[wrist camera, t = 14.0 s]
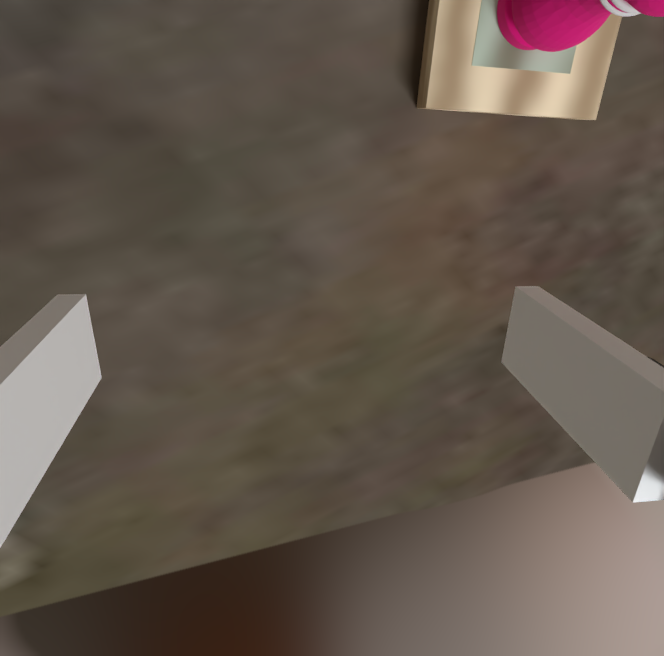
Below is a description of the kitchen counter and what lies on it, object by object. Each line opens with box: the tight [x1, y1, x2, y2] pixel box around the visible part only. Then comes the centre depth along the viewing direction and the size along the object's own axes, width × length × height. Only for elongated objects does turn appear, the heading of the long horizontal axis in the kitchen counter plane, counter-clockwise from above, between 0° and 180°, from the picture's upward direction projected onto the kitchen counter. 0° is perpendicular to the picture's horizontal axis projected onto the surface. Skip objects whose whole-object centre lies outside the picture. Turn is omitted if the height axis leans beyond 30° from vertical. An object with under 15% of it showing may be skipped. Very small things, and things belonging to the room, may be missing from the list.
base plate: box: [417, 0, 622, 120], centre depth 42 cm, size 16×16×3 cm
